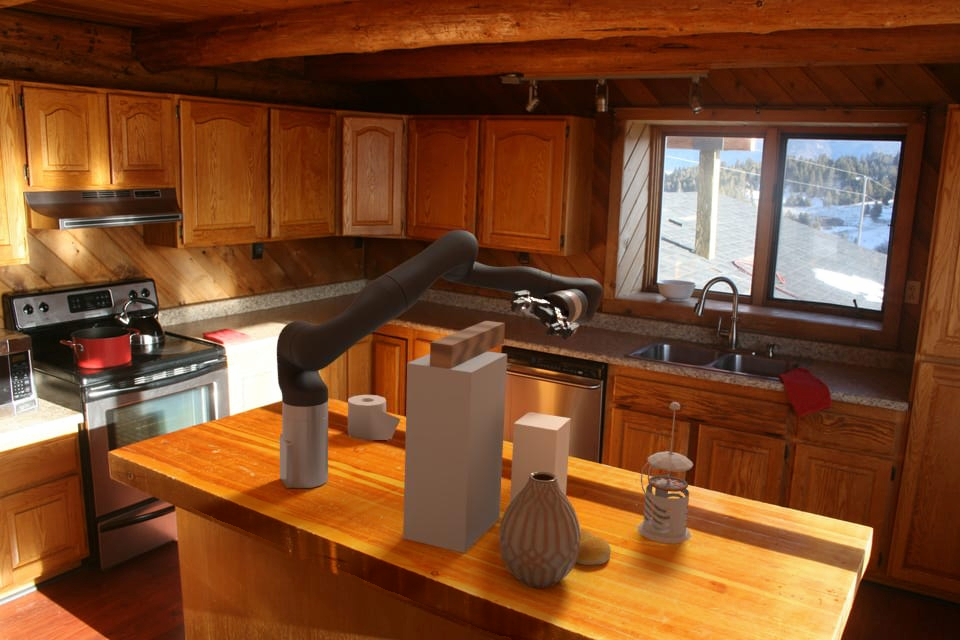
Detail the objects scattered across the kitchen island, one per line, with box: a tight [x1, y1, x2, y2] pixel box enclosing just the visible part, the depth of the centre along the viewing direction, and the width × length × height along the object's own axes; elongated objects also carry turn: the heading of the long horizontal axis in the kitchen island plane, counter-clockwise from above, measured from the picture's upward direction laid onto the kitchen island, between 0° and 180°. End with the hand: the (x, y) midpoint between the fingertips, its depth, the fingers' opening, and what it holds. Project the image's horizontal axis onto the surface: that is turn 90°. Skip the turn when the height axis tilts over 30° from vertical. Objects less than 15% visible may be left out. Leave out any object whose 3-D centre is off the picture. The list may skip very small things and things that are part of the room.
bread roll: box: [575, 528, 612, 566], centre depth 141 cm, size 8×9×4 cm
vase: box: [498, 471, 581, 589], centre depth 131 cm, size 13×13×18 cm
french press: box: [637, 401, 694, 544], centre depth 150 cm, size 10×12×25 cm
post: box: [509, 411, 572, 504], centre depth 148 cm, size 8×8×21 cm
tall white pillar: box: [402, 351, 508, 554], centre depth 146 cm, size 16×12×32 cm
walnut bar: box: [429, 320, 506, 369], centre depth 147 cm, size 24×4×4 cm, turn 157°
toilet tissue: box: [347, 394, 401, 441], centre depth 199 cm, size 9×13×9 cm
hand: (531, 318), depth 160 cm, fingers open, 8 cm apart
